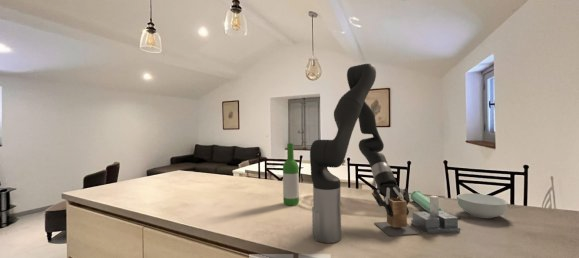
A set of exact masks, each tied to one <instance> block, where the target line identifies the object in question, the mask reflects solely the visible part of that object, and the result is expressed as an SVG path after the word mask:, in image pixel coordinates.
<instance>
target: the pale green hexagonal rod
mask: <svg viewBox="0 0 579 258" xmlns="http://www.w3.org/2000/svg"><path fill="white" fill-rule="evenodd" d="M410 200H412V201H413V202H416V204H417V205H419V206H420V207H421V208H423V209H424V210H425V212H427V213H429V214H430V198H429V197H427V196H425V195H424V194H423V193H422V192H421V191H420V190H413V191H412V192H411V193H410ZM439 211H444V209H443V208H442V207H441V206H439Z"/></svg>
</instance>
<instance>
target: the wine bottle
mask: <svg viewBox="0 0 579 258" xmlns="http://www.w3.org/2000/svg"><path fill="white" fill-rule="evenodd" d="M286 144H287V147H286V149H287V153H286V155H287V159H286V161H284V162H283V165H282V186H283V187H282V195H283V205H285V206H296V205H299V202H300V184H299V183H300V176H299V174H300V173H299V165H298V162H297V161H296V160H295V159H294V143H293V142H292V143H289V142H288V143H286Z"/></svg>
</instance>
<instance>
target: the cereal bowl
mask: <svg viewBox="0 0 579 258" xmlns="http://www.w3.org/2000/svg"><path fill="white" fill-rule="evenodd" d="M456 198H457V199H456V200H457V205H458V207H460V209H462V210H463V211H465V212H467V213H468V214H470V215H471V216H474V217H477V218H482V219H494V218H496V217H497V218H498V217H500V216H503V215H504V214H506V212H507V211H508V208H509V202H508V201H507V200H506V199H504V198H501V197H497V196H494V195H488V194H483V193H470V192H469V193H468V192H466V193H465V192H464V193H460V194H458V195H457V196H456Z"/></svg>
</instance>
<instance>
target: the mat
mask: <svg viewBox="0 0 579 258" xmlns="http://www.w3.org/2000/svg"><path fill="white" fill-rule="evenodd" d="M374 225H375V226H376V225H377V226H376V227H378V228H379V230H381V231H382V230H383V232H384V234H386V235H387V236H388V237H399V236H401V235H404V236H417V235H418V236H419V234H421V235H423V232H421V230H418V228H417V229H416V228H415V226H412V225H411V224H410V223H408V222H407V227H393V226H391V225H390V224H389V223H387V221H380V222H379V221H377V222H374Z"/></svg>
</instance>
